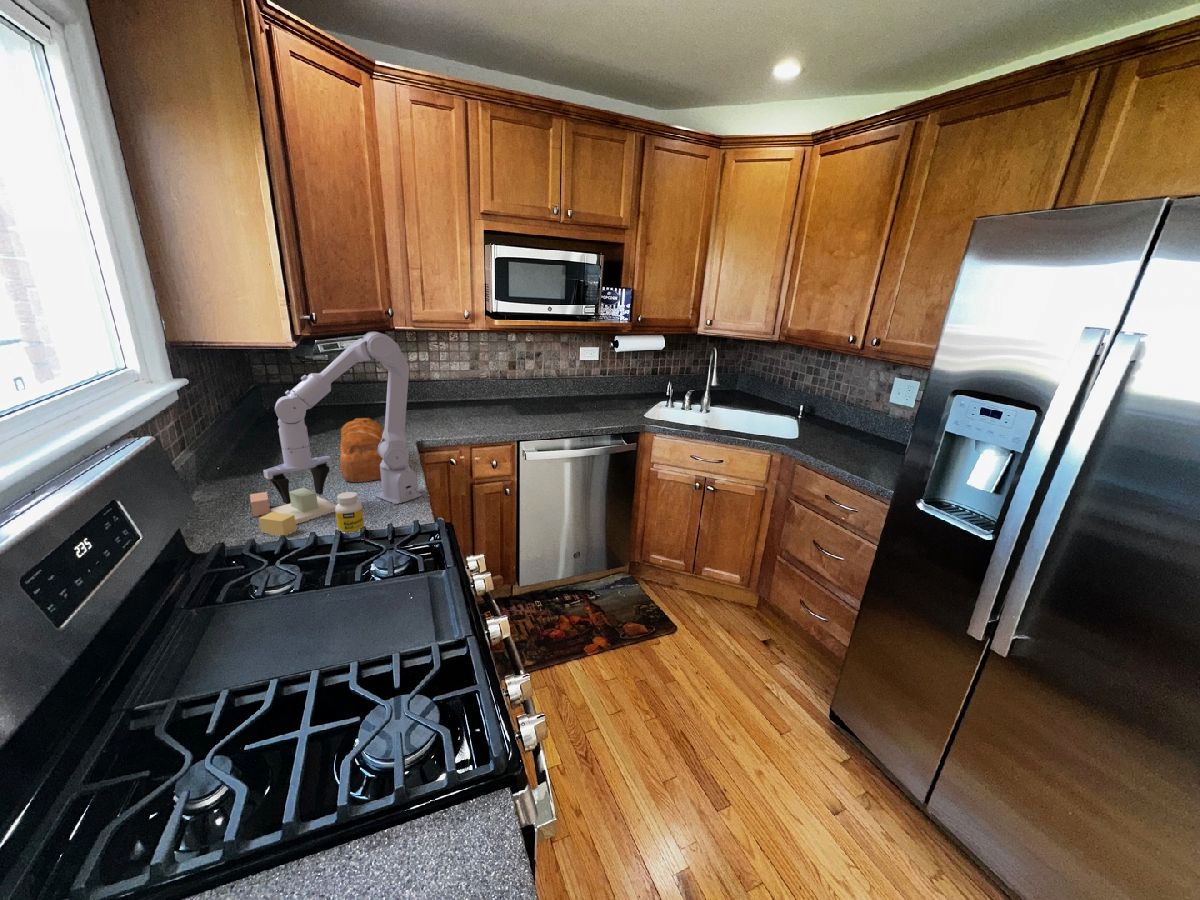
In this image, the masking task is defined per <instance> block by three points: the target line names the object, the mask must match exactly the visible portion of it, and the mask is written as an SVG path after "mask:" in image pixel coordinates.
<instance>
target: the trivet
mask: <svg viewBox="0 0 1200 900" xmlns="http://www.w3.org/2000/svg"><path fill="white" fill-rule="evenodd" d="M316 496H317V503H318V508H316V509H313V510H310V511H307V512H304V513H303V512H301V511H299V510H297V509H295V508H293V507H291V504H286V503H285V504H283V505H279V506H275V507H272V508H270V512H276V513H283V514H291V515H294V516H295V523H296V525H299V524H302V523H305V522H307V521H311V520H314V519H317V518H319V516H320V517H322V516H321V515H323V516H325V515H324V514H326V515H328V514H327V513H329V514H332V513H335V512H334V511H335V507H336V505H337V504H336V503H333V502H331V501H329V500H328V499H327V500H326V499H325V498H322V497H321V496H318V495H316ZM331 512H332V513H331ZM316 517H317V518H316ZM310 519H311V520H310ZM298 523H299V524H298Z"/></svg>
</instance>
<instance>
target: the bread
mask: <svg viewBox="0 0 1200 900" xmlns="http://www.w3.org/2000/svg"><path fill="white" fill-rule="evenodd" d="M383 431H384V430H383V428H382V426H381V424H380V423H379V422H377V421H376V420H374V419H372V418H370V417H358V418H354V419H353V420H350V421H347V422H346V423H344V424H343V425H342V427H341V429H340V445H339V446H340V447H339V452H340V453H339V455H340V458H339V462H340V469H341V470H340V471H341V477H342V478H343V479H344V480H346V481H347V482H349V483H362V482H365V483H366V482H372V481H373V480H374V481H378V480H379V481H381V473H380V463H381V462H382V459H383V458H382V457H380V455H379V454H378V445H379V443H380V442H381V440H382V434H383Z"/></svg>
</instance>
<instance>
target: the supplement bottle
mask: <svg viewBox="0 0 1200 900" xmlns="http://www.w3.org/2000/svg"><path fill="white" fill-rule="evenodd" d="M336 499H337V500H336V501H337V504H336V507H335V512H334V513H335V519H336V526H337V527H336V528H337V531H338V530H339V531H342V532H345V533H349V532H357V531H359V529H360V528H362V527H364V528H365V522H364V515H363V514H364V512H363V506H362V502H360V501H358V500H359V498H358V493H357V492H354V491H345V492H341V493H339V494H338V495H337V498H336Z"/></svg>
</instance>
